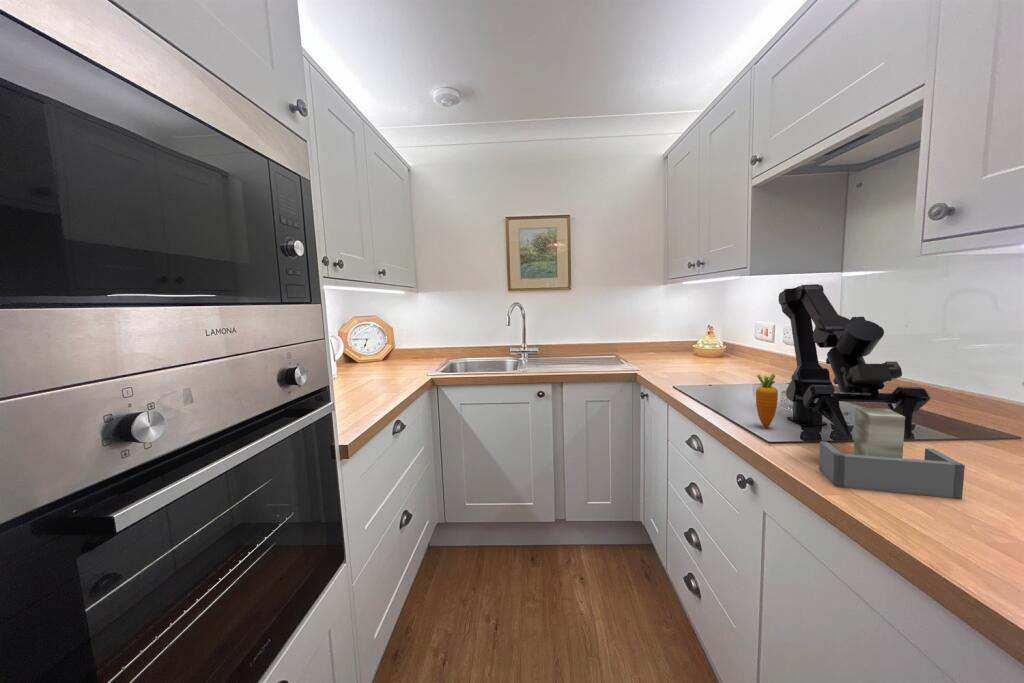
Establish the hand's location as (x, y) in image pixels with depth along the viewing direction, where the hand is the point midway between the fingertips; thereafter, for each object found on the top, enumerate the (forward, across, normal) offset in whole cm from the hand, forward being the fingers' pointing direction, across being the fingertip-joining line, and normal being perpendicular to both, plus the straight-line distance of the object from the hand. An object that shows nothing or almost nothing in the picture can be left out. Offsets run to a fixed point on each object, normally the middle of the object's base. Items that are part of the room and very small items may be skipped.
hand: (877, 436), depth 71 cm
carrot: (-12, -12, +24) cm, 29 cm away
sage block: (+6, 0, +6) cm, 8 cm away
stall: (+8, 0, +4) cm, 9 cm away
